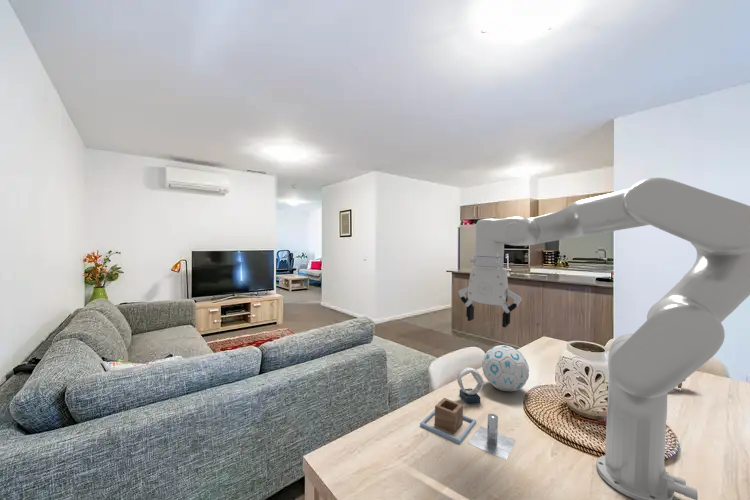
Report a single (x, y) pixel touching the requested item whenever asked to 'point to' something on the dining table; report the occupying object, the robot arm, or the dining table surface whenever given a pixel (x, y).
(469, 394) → the watch
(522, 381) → the puzzle ball
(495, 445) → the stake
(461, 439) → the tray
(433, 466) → the dining table surface
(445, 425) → the collar
